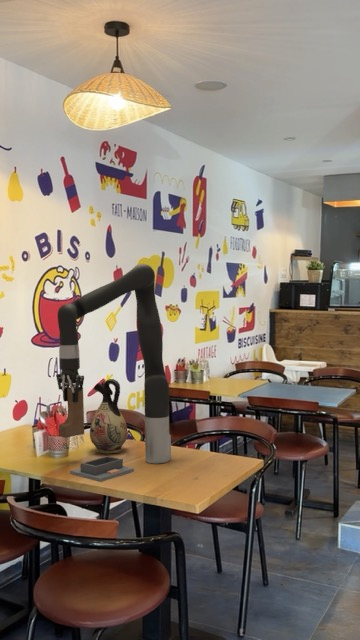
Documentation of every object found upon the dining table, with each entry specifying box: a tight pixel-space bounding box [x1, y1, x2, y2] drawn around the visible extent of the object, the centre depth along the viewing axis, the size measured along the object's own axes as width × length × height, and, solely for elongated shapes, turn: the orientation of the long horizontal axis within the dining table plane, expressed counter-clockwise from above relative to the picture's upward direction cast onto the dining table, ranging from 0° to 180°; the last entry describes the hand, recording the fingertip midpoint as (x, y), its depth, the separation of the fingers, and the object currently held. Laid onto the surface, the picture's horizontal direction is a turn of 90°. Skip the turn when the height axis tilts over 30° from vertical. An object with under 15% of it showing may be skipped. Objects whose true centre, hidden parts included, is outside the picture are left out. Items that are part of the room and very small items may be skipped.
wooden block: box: [57, 386, 85, 439], centre depth 234 cm, size 9×4×18 cm, turn 137°
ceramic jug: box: [89, 378, 129, 454], centre depth 251 cm, size 17×15×30 cm
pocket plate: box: [69, 455, 135, 482], centre depth 221 cm, size 16×16×4 cm
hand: (70, 401), depth 234 cm, fingers closed on wooden block, 4 cm apart
